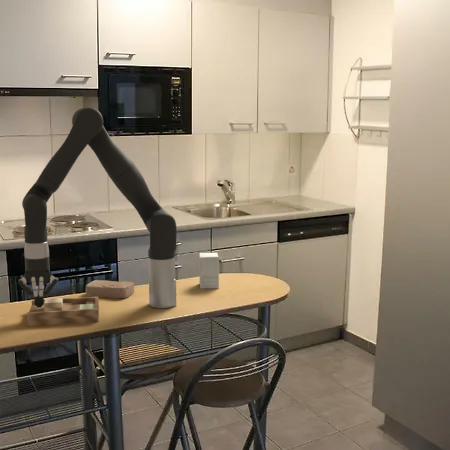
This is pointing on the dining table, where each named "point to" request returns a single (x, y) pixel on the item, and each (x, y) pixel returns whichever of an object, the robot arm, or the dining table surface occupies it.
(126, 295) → the brick
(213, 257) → the supplement box
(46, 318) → the tray
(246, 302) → the dining table surface
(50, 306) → the block
